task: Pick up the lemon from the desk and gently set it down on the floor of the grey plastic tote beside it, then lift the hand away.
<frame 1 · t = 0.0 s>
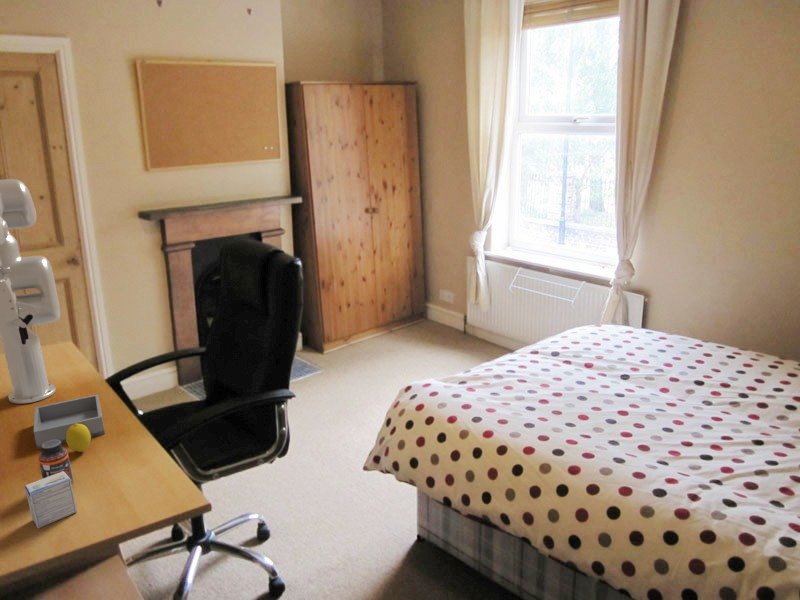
hand: (0, 346, 148), 31 cm above the table, tool pointing down, fingers open, 9 cm apart
tote: (71, 428, 174), on the table
supplement bottle: (60, 487, 148), on the table
medicine box: (55, 517, 137), on the table
lemon: (81, 452, 163), on the table
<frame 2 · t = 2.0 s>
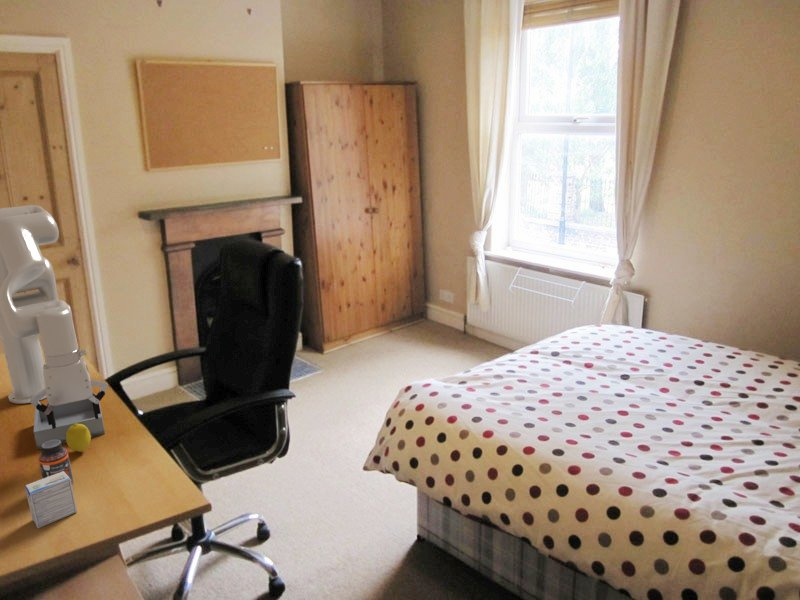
hand: (75, 421, 160), 9 cm above the table, tool pointing down, fingers open, 9 cm apart
nothing on the table moved.
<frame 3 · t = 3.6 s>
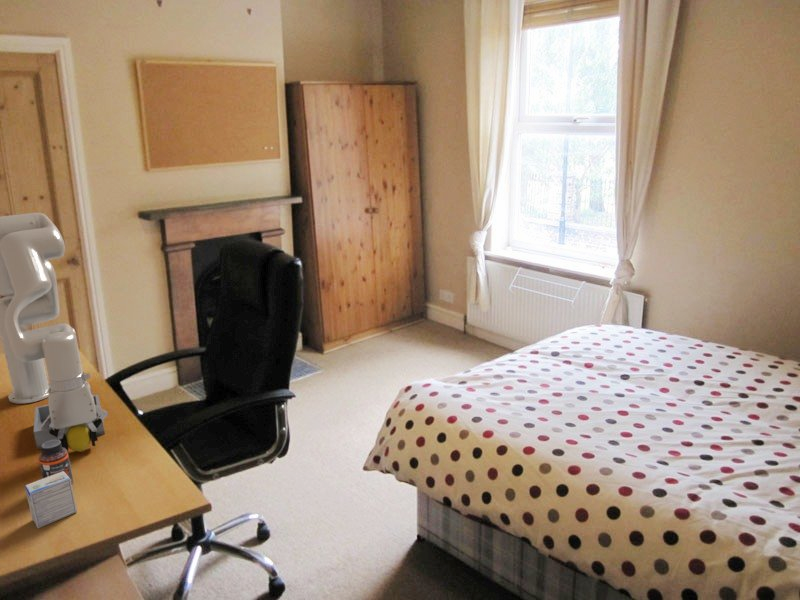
hand: (80, 446, 162), 2 cm above the table, tool pointing down, fingers closed on lemon, 5 cm apart
lemon: (81, 452, 163), on the table, touching gripper
everything else where it was.
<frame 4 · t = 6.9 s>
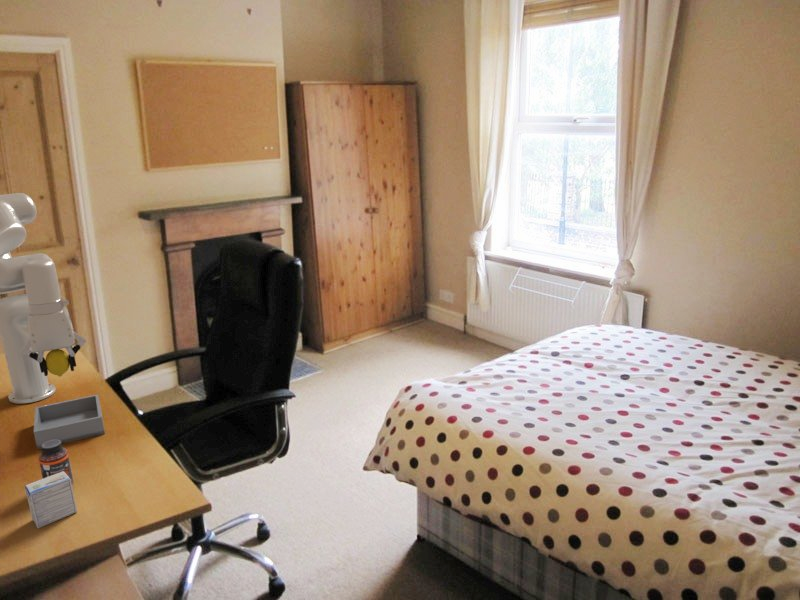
hand: (59, 371, 169), 17 cm above the table, tool pointing down, fingers closed on lemon, 5 cm apart
lemon: (60, 377, 170), point 15 cm above the table, touching gripper
everything else where it was.
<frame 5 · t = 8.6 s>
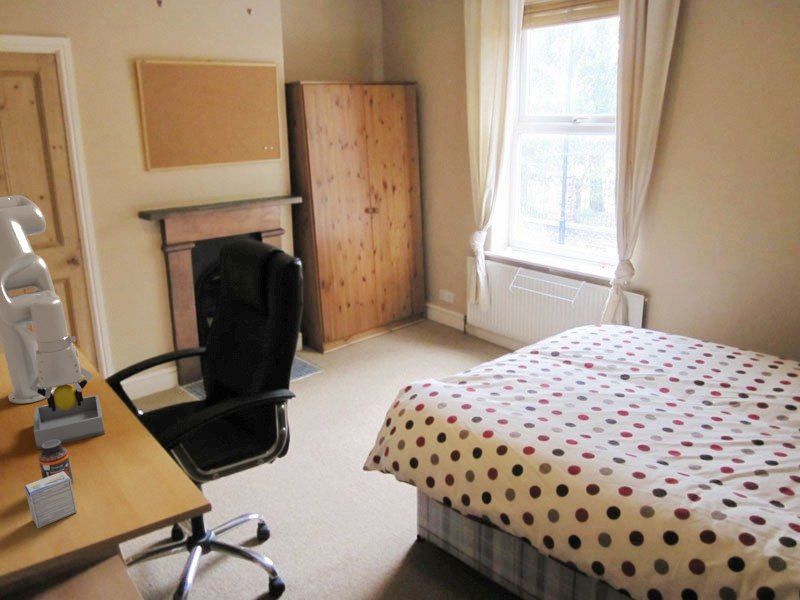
hand: (66, 406, 172), 7 cm above the table, tool pointing down, fingers closed on lemon, 5 cm apart
lemon: (67, 411, 173), point 5 cm above the table, touching gripper
everything else where it was.
when the fingers open (4 cm above the table, at t = 10.0 s): lemon drops 2 cm, resting on tote.
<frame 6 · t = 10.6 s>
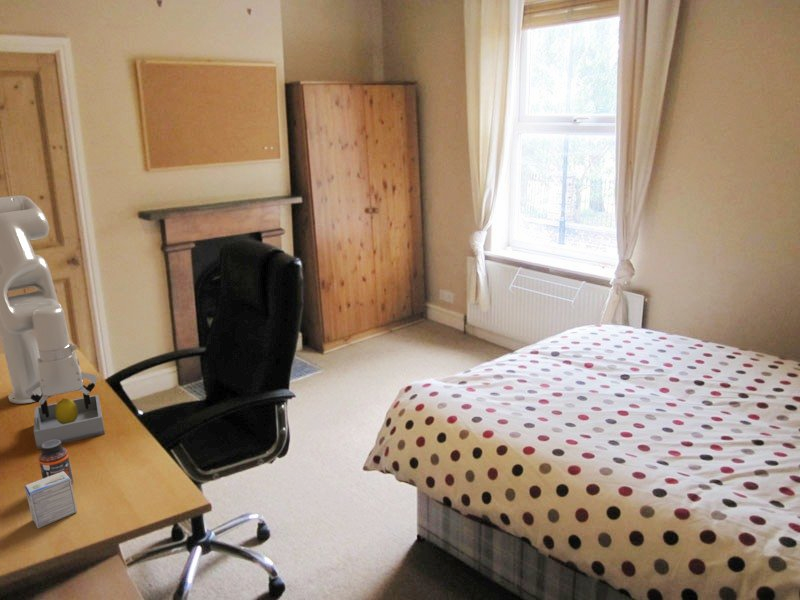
hand: (67, 411, 173), 5 cm above the table, tool pointing down, fingers open, 9 cm apart
lemon: (69, 426, 174), point 1 cm above the table, touching tote
everything else where it was.
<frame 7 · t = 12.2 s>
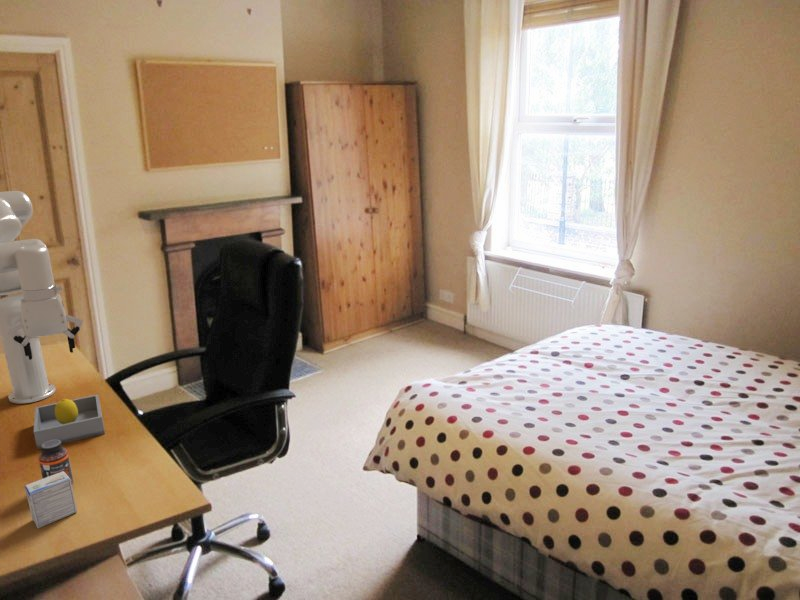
hand: (51, 354, 169), 21 cm above the table, tool pointing down, fingers open, 9 cm apart
nothing on the table moved.
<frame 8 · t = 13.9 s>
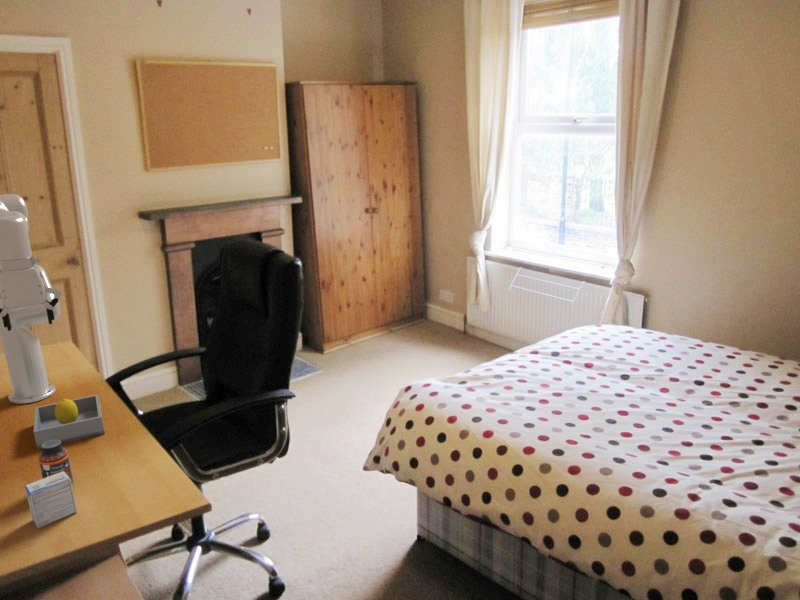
hand: (30, 326, 171), 28 cm above the table, tool pointing down, fingers open, 9 cm apart
nothing on the table moved.
at the end: lemon inside the target area on the tote (0.3 cm from its centre), point 0.8 cm above the tote's base; the gripper is holding nothing; lemon moved 15.3 cm from its start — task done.
